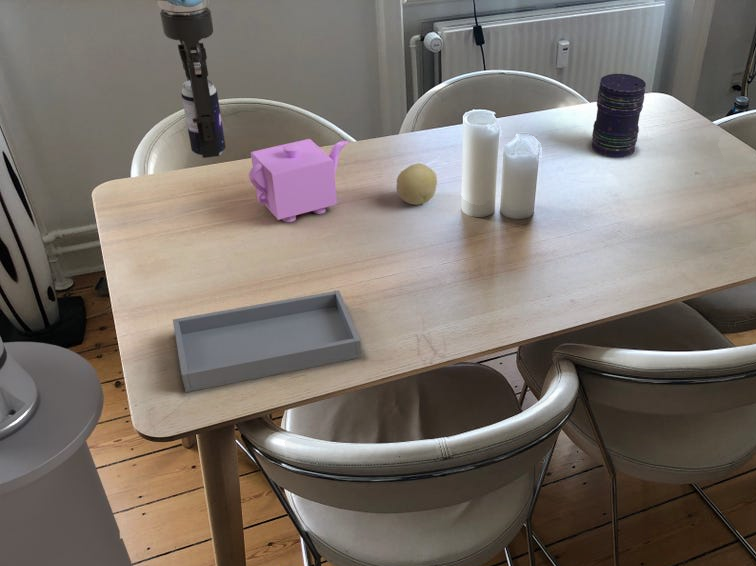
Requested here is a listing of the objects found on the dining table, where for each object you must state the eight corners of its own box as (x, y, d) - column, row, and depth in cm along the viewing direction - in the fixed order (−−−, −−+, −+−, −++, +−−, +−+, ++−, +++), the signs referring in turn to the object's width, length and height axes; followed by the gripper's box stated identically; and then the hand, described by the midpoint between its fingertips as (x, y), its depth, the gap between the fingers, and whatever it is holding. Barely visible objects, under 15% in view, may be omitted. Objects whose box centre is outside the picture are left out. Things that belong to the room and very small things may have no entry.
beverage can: (230, 155, 143) (220, 87, 136) (198, 162, 141) (185, 93, 133) (220, 143, 147) (209, 75, 139) (188, 149, 144) (175, 81, 137)
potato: (440, 211, 160) (440, 173, 155) (399, 213, 159) (398, 175, 154) (434, 192, 166) (434, 155, 161) (395, 194, 165) (394, 157, 160)
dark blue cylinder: (585, 152, 183) (594, 86, 173) (596, 135, 190) (605, 70, 180) (630, 161, 180) (641, 94, 171) (639, 143, 187) (650, 78, 178)
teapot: (266, 230, 152) (257, 168, 144) (245, 206, 159) (235, 145, 151) (363, 204, 161) (360, 143, 153) (340, 182, 168) (336, 123, 160)
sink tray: (185, 392, 118) (181, 375, 116) (176, 336, 128) (172, 319, 126) (361, 357, 126) (360, 340, 124) (340, 306, 135) (339, 290, 133)
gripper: (218, 25, 123) (239, 169, 138) (202, -11, 137) (223, 124, 151) (165, 29, 121) (192, 174, 136) (154, -8, 134) (180, 128, 149)
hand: (208, 147), depth 143 cm, fingers closed on beverage can, 6 cm apart
